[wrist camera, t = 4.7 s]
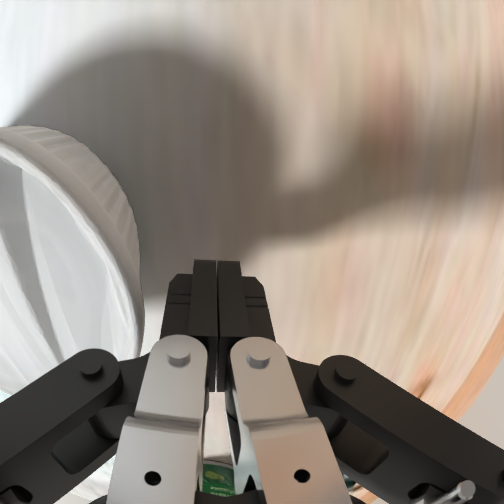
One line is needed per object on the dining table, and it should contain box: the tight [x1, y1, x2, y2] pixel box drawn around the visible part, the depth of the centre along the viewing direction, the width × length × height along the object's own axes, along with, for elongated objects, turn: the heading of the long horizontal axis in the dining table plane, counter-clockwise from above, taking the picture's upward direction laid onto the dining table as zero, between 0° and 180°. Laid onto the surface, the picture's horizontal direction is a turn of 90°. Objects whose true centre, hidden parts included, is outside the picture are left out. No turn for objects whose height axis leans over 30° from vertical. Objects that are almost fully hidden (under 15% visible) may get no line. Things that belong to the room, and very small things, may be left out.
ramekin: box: [0, 125, 145, 395], centre depth 10 cm, size 11×11×5 cm
